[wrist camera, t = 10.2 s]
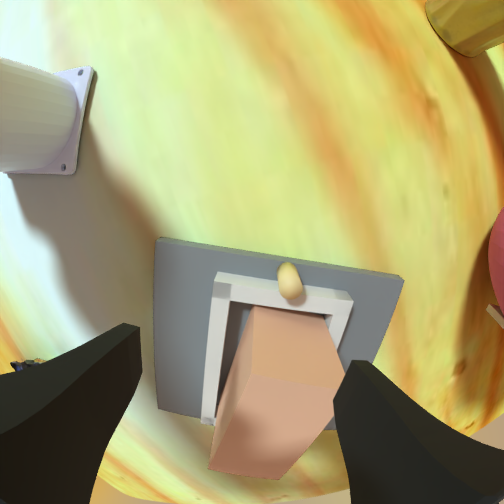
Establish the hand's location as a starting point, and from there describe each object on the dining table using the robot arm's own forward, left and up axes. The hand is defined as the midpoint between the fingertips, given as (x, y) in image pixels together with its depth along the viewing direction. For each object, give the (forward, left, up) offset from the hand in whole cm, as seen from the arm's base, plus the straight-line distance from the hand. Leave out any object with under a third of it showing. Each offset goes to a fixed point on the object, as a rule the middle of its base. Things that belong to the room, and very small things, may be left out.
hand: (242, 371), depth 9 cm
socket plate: (+2, -6, -9) cm, 11 cm away
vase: (+13, +23, -10) cm, 28 cm away
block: (+2, -6, -8) cm, 10 cm away
